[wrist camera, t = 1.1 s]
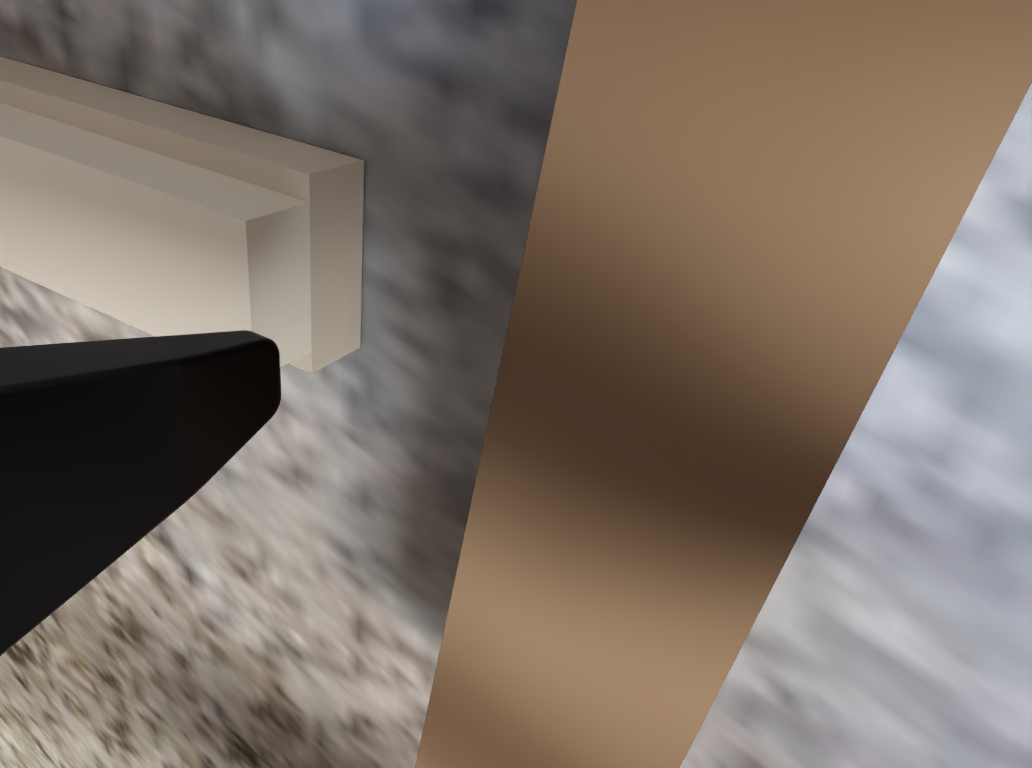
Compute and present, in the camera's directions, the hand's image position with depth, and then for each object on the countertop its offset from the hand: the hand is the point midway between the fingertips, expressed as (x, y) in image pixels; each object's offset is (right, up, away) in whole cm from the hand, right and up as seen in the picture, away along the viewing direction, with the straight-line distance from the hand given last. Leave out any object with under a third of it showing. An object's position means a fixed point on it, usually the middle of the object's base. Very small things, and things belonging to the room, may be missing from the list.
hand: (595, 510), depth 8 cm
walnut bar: (+3, +2, +5) cm, 6 cm away
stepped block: (-9, +6, +10) cm, 14 cm away
